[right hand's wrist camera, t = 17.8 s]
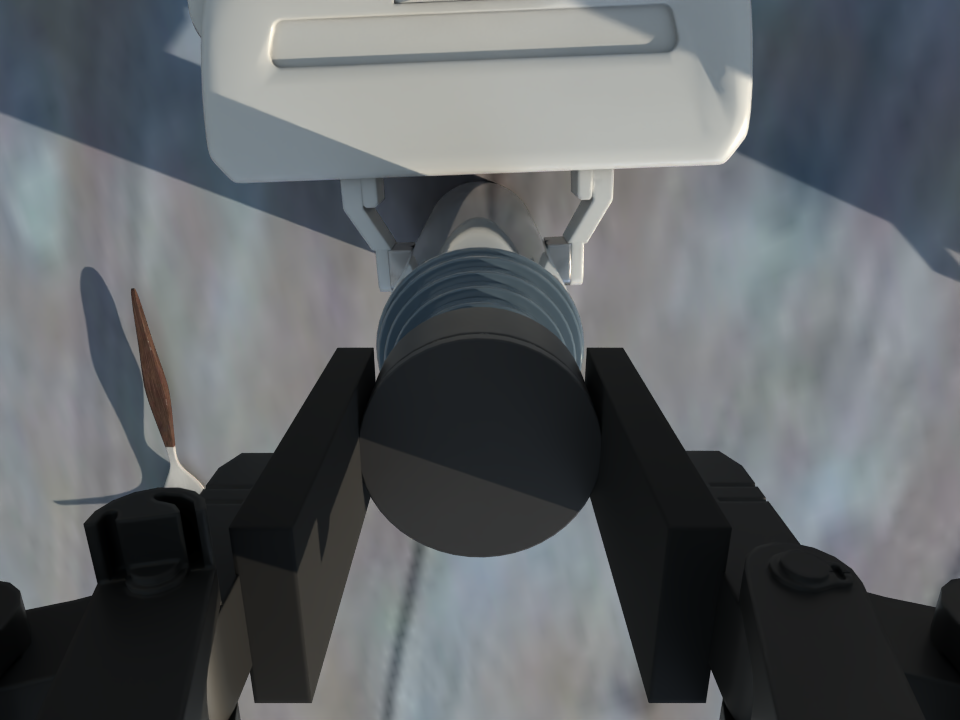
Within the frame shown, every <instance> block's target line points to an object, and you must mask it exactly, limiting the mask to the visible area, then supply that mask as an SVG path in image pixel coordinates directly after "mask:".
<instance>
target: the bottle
mask: <svg viewBox="0 0 960 720" xmlns="http://www.w3.org/2000/svg"><path fill="white" fill-rule="evenodd" d="M471 307H492V308H498V309H504V310H508V311H512V312H515V313H519V314H521V315H524V316H526V317H528V318H530V319H533V320H534V321H536V322H538V323H539V324H541V325H543V326H544V327H546V328H547V329H548V330H549V331H551V332H552V333H553V334H554V335H556V336H557V337H558V338H559V339H560V341H561V342H562V343H563V344H564V345H565V346H566V347H567V349H568V350H569V351H570V353H571V354H572V356H573V357H574V359H575V361H576V363H577V365H578V367H579V369H580V371H581V367H582V362H583V356H584V336H583V328H582V324H581V320H580V316H579V314H578V311H577V309H576V306H575V304H574V302H573V300H572V298H571V296H570V294H569V292H568V290H567V288H566V286H565V284H564V282H563V280H562V278H561V276H560V274H559V271H558V269H557V267H556V265H555V263H554V261H553V259H552V257H551V255H550V253H549V251H548V249H547V247H546V245H545V243H544V241H543V239H542V237H541V235H540V233H539V231H538V229H537V227H536V225H535V223H534V221H533V219H532V217H531V215H530V213H529V211H528V209H527V207H526V206H525V204H524V203H523V202H522V200H521V199H520V198H519V197H518V196H517V195H516V194H514V193H513V192H512V191H510V190H509V189H507V188H505V187H503V186H501V185H498V184H495V183H491V182H485V181H475V182H469V183H465V184H462V185H459V186H457V187H455V188H453V189H452V190H450V191H448V192H447V193H446V194H445V195H444V196H443V197H442V198H441V199H440V200H439V201H438V202H437V204H436V205H435V206H434V208H433V210H432V212H431V214H430V216H429V218H428V220H427V222H426V224H425V226H424V228H423V230H422V232H421V234H420V236H419V238H418V240H417V242H416V244H415V246H414V248H413V250H412V252H411V254H410V256H409V258H408V260H407V262H406V264H405V266H404V268H403V270H402V272H401V274H400V276H399V278H398V281H397V283H396V285H395V287H394V289H393V291H392V293H391V295H390V297H389V299H388V301H387V303H386V305H385V307H384V309H383V312H382V315H381V318H380V321H379V326H378V331H377V341H376V350H377V360H378V365H379V370H381V368H382V366H383V363H384V362H385V360H386V358H387V357H388V355H389V353H390V352H391V350H392V349H393V348H394V347H395V346H396V344H397V343H398V342H399V341H400V340H401V339H402V338H403V337H404V336H405V335H406V334H407V333H408V332H409V331H411V330H412V329H414V328H415V327H417V326H418V325H419V324H421V323H423V322H424V321H426V320H428V319H430V318H432V317H434V316H437V315H439V314H442V313H445V312H448V311H452V310H457V309H461V308H471Z"/></svg>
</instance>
